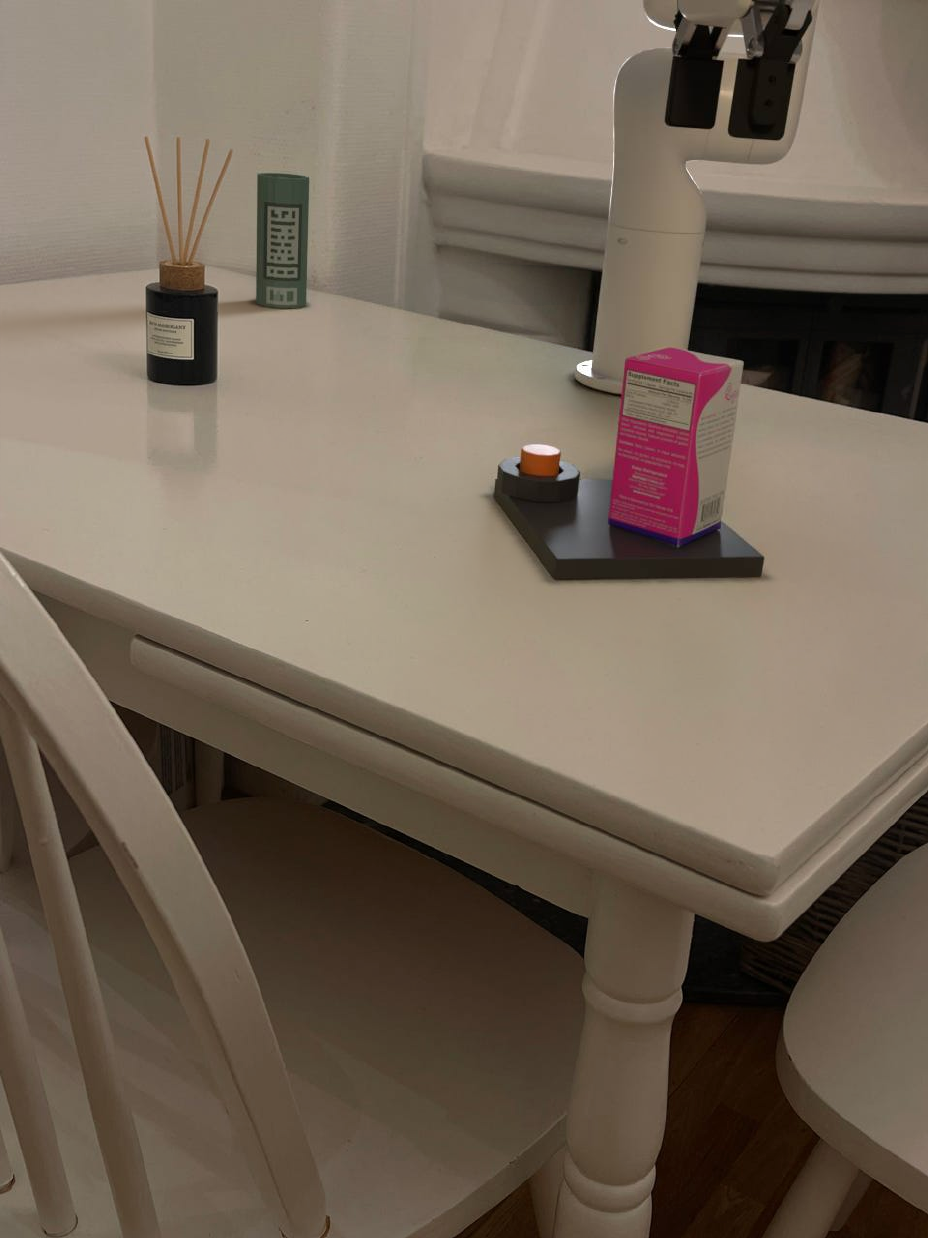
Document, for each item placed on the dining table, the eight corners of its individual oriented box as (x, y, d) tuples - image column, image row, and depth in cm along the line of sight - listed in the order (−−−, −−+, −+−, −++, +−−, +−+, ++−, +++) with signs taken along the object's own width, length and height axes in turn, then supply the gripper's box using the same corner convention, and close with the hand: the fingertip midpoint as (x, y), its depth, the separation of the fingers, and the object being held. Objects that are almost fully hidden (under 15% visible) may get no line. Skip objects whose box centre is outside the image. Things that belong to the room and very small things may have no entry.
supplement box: (647, 506, 89) (671, 344, 84) (722, 529, 85) (750, 361, 81) (602, 524, 84) (624, 354, 80) (678, 549, 81) (706, 373, 76)
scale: (487, 495, 93) (491, 455, 92) (669, 495, 96) (675, 457, 95) (549, 580, 78) (554, 534, 77) (761, 577, 82) (769, 533, 80)
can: (304, 300, 159) (307, 175, 153) (306, 309, 154) (310, 179, 148) (256, 297, 158) (257, 171, 152) (256, 306, 153) (257, 176, 147)
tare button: (514, 467, 91) (517, 443, 90) (552, 467, 91) (554, 443, 91) (525, 479, 88) (527, 455, 88) (563, 479, 89) (565, 455, 88)
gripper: (918, -228, 61) (848, 148, 68) (765, -175, 76) (720, 127, 83) (776, -249, 59) (719, 139, 66) (648, -190, 75) (613, 119, 81)
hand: (720, 132), depth 75 cm, fingers open, 9 cm apart
